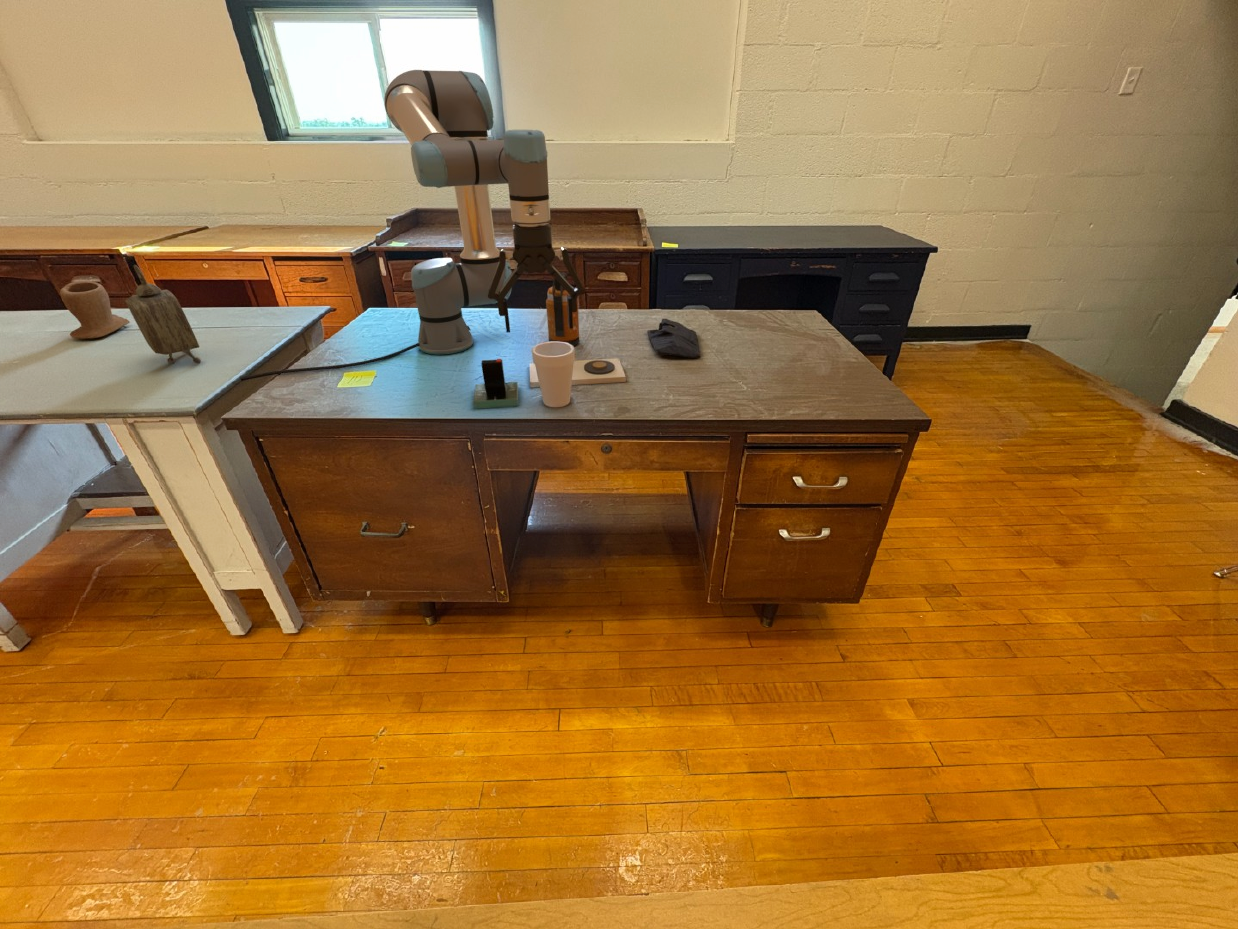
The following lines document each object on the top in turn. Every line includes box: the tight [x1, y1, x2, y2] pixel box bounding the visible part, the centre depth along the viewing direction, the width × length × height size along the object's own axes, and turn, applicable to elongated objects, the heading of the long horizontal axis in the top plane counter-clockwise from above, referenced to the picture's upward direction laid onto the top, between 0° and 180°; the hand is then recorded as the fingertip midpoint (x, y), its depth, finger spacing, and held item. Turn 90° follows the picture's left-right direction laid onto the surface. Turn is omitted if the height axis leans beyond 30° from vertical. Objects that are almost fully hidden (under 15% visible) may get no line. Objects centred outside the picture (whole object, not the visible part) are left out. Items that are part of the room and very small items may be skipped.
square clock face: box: [472, 381, 519, 410], centre depth 124 cm, size 10×9×2 cm
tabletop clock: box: [125, 264, 202, 364], centre depth 135 cm, size 14×9×25 cm, turn 47°
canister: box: [545, 272, 580, 346], centre depth 148 cm, size 9×11×20 cm
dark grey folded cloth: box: [646, 318, 701, 359], centre depth 152 cm, size 15×22×5 cm
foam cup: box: [531, 341, 576, 408], centre depth 120 cm, size 10×9×13 cm
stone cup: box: [59, 280, 131, 339], centre depth 155 cm, size 15×12×15 cm
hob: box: [529, 357, 627, 388], centre depth 135 cm, size 24×12×3 cm, turn 99°
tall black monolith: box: [481, 358, 506, 393], centre depth 121 cm, size 5×2×8 cm, turn 99°
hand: (539, 328), depth 114 cm, fingers open, 13 cm apart
